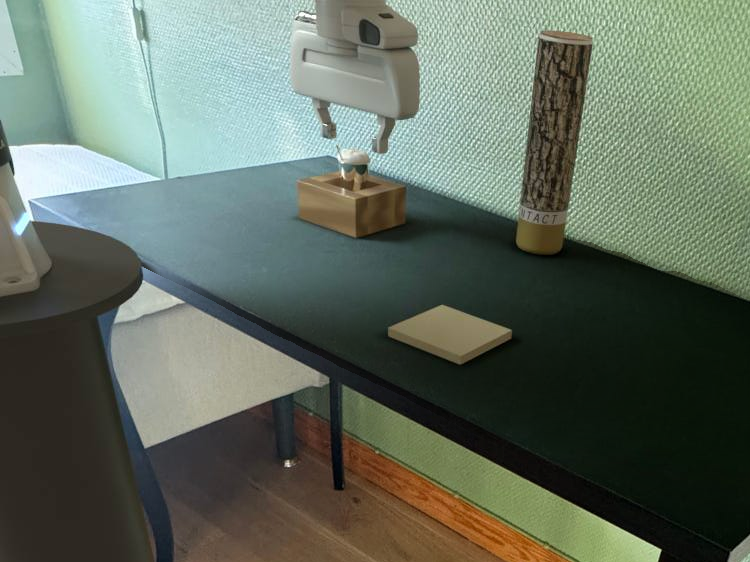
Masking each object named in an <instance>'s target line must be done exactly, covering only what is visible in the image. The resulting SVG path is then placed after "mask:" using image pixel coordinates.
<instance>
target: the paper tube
mask: <svg viewBox="0 0 750 562" xmlns="http://www.w3.org/2000/svg"><path fill="white" fill-rule="evenodd" d="M593 39H594V37H593V36H590V35H587V34H581V33H577V32H571V31H563V30H547V29H546V30H540V31H539V36H538V41H537V48H536V57H535V66H534V75H533V76H534V77H533V85H532V93H531V102H530V113H529V120H528V129H527V137H526V146H525V157H524V164H523V173H522V183H521V191H520V201H519V209H518V219H517V227H516V238H515V243H516V246H517V247H518V248H519V249H520V250H521V251H523V252H526V253H529V254H533V255H540V256H549V255H551V256H552V255H555V254H558V253H559V252H560V251H561V250H562V248H563V244H564V238H565V231H566V224H567V219H568V218H567V217H568V212H569V205H570V200H571V193H572V186H573V179H574V173H575V165H576V159H577V153H578V145H579V139H580V134H581V133H580V132H581V125H582V118H583V113H584V105H585V99H586V93H587V92H586V91H587V86H588V80H589V79H588V78H589V73H590V66H591V59H592V52H593V47H594V46H593V45H594V42H593V41H594V40H593Z"/></svg>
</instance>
